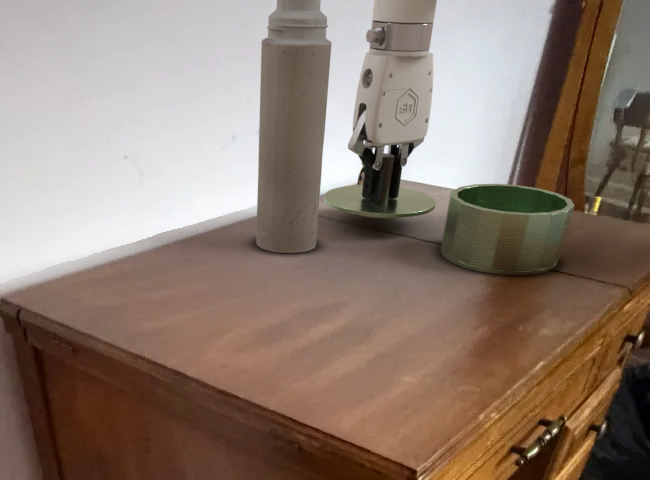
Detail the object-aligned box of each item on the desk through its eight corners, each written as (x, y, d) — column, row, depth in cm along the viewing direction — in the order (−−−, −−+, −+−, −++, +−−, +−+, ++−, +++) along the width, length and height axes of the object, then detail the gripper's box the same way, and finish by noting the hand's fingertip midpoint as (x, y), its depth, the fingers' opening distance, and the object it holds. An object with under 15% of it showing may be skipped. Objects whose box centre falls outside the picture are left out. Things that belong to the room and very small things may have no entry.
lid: (382, 188, 111) (388, 139, 107) (457, 212, 101) (468, 160, 97) (301, 200, 104) (304, 149, 100) (373, 228, 94) (380, 173, 90)
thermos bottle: (291, 231, 100) (306, -24, 82) (328, 247, 95) (351, -22, 77) (244, 240, 96) (249, -24, 79) (279, 257, 91) (293, -22, 74)
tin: (492, 233, 101) (504, 179, 97) (580, 262, 92) (598, 204, 87) (417, 249, 95) (426, 192, 90) (503, 283, 86) (519, 221, 81)
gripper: (371, 44, 84) (353, 211, 96) (467, 40, 91) (439, 196, 103) (331, 39, 89) (318, 198, 100) (425, 35, 96) (403, 185, 108)
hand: (379, 196), depth 101 cm, fingers closed on lid, 2 cm apart
